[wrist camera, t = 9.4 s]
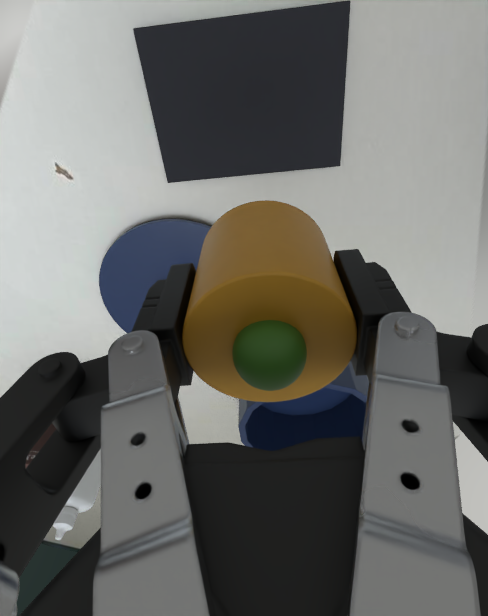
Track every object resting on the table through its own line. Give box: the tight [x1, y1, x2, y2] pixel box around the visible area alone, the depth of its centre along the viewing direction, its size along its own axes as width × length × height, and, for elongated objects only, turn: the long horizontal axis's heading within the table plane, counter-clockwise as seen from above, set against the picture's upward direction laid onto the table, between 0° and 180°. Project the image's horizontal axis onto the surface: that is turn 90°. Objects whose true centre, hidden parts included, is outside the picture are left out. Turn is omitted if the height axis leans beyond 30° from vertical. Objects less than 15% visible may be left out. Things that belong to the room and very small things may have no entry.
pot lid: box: [99, 219, 211, 333], centre depth 33 cm, size 16×16×7 cm
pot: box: [239, 360, 369, 451], centre depth 40 cm, size 15×20×8 cm
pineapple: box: [182, 201, 357, 402], centre depth 11 cm, size 5×5×6 cm
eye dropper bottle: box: [53, 449, 101, 540], centre depth 49 cm, size 4×6×12 cm
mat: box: [133, 1, 350, 183], centre depth 26 cm, size 14×10×1 cm
